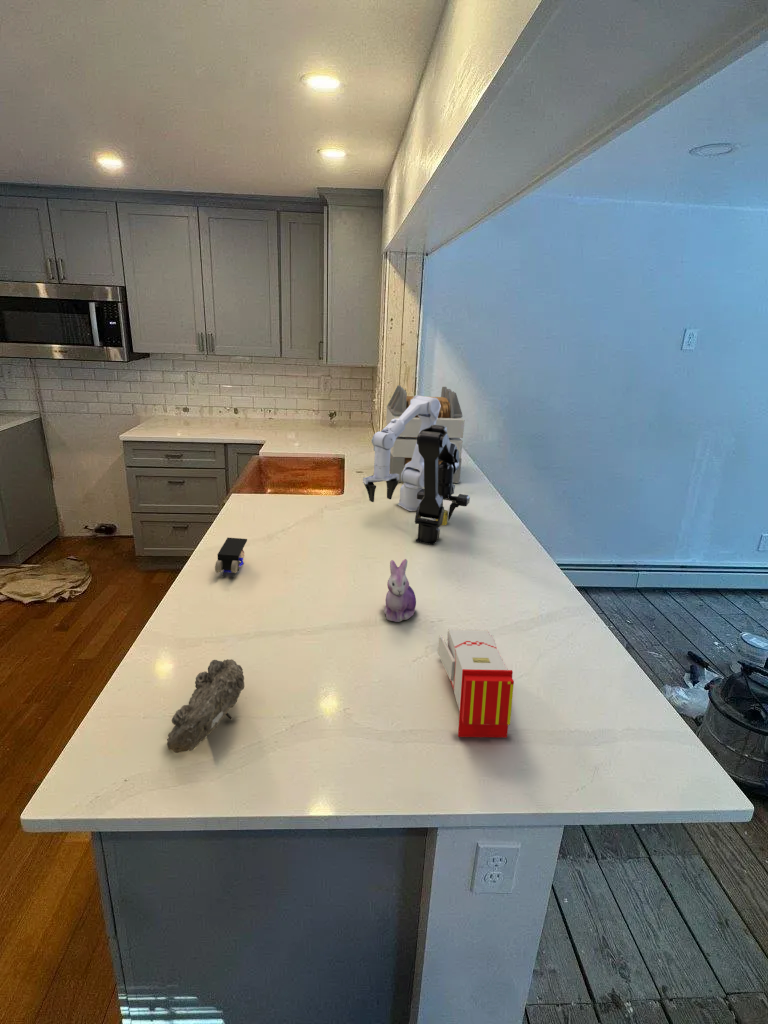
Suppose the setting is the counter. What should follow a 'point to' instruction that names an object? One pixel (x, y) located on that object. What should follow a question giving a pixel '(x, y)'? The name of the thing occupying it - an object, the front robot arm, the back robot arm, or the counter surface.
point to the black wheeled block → (230, 556)
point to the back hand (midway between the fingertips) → (380, 499)
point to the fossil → (206, 705)
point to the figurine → (399, 594)
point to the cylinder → (444, 518)
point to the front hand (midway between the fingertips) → (441, 519)
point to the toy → (478, 682)
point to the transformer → (408, 438)
